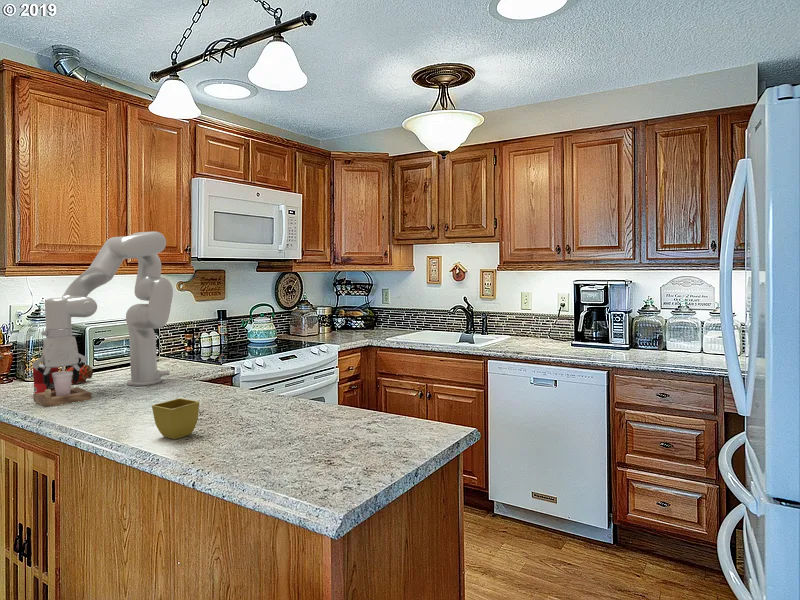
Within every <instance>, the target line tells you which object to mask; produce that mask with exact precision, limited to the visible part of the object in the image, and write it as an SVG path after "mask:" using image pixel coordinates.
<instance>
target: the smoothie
mask: <svg viewBox="0 0 800 600" xmlns="http://www.w3.org/2000/svg"><path fill="white" fill-rule="evenodd" d="M61 368H62V369H61V370H62V371H59V372H55V373H52V377H53V381H54V386H55V391H56V396H62V395H68V394H70V392H71V388H72V384H71V383H72V382H71V381H72V375H73V372H72V371H66V370H65V366H63V367H61Z"/></svg>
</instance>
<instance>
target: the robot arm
mask: <svg viewBox="0 0 800 600" xmlns="http://www.w3.org/2000/svg"><path fill="white" fill-rule="evenodd" d="M166 245H167V240H166V238H165V236H164V234H163V233H162V232H159V231H156V230H155V231H140V232H139V231H138V232H134V233H132V234H130V235H124V236H113V237H110V238H108V239H107V240H106V241H105V242H104V244H103V245H102V247H101V248H100V250H99V251H98V252H97V254H96V256H95V258H94V259H93V261H92V263H91V264H90V265H89V267H88V268H87V269H86V270H85V271H84V272H82V273H81V274H80V275H79V276H77V278H75V279H74V280H73V281H72V282H71V283H70V284H69V285H68V287H67V288H66V290H65V292H63V294H62V296H61V297H51V298H47V299H45V301H44V315H45V329H44V331H41V333H40V335H41V336H45V338H44V340H43V343H42V344H43V346H42V356H40V357H39V358H38V359H37V360H35V361H34V362H32V364H31V365H32V367H33V366H34V367H35V368H36V369H37V370H38V371H39V372H40V373H42V374H43V383H44V384H45V385H46V386H50V375H49V374H48V372H49V371H50V369H51V368H54V367H58V368H62V367H63V366H64V367H69V366H70V367H71V366H72V367H73V368H74V370H73V371H72V372H73V381H74V382H78V379H79V370H80V369H81V367H82V366H83V365H85V363H86V362H87V360H88V357H87V356H85V355H83V354H81V353H79V350H78V349H79V348H78V344H77V340H76V336H75V335H74V336H73V330H72V329H73V328H72V327H73V325H72V318H89V317H91V316H93V315H94V314H95V313H96V312H97V311H98V304H97V302H96V300H94V299H93V298H91V297H89V295H90V294H91V293H92V292H93V291H94V290H95V289H97V288H99V287H102V286H104V285H105V284H107V283H109V282H110V281H112V280H113V278H114V277H115V275H116V273H117V271H118V270H119V268H120V266H121V265H122V264H123V262H124V260H127V259H128V260H129V259H130V260H131V259H137V260H136V261H137V263H138V266H137V274H136V280H135V285H134V291H133V292H134V296H135V297H136V298H137V299H138V300H139V301H140V300H141V301H146V302H148V303H136V304H134V305H131V306H130V307H128V309H127V310H126V314H125V321H126V325H127V326H126V327H127V329H128V337H129V338H128V341H129V359H130V379H129V380H127V381H126V385H127V386H132V387H133V386H135V387H136V386H137V387H141V386H149V385H155V384H159V383H162V376H163V377H164V376H165V377H166V376H169V375H170V374H171V373H170V370H168V369H167V370H159V369H158V363H157V362H158V361H157V359H158V358H157V338H156V337H157V336H156V334H155V330H156V329H158V330H159V329H162V328H163V327H165V325H166V324H167V322H168V321H169V317H170V314H171V307H172V302H173V295H174V289H173V284H172V283H171V282H170V280H169V279H167V278H165V277H162V276H161V275H162V262H161V258H160V256H159V255H158V254H159V253H161V252H163V251H164V250H165V248H166V247H167V246H166ZM154 329H155V330H154ZM79 361H80V362H79ZM39 364H43V365H44V366H45V367H44V369H42V368H41V367H40V366H39Z"/></svg>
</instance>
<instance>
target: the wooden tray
mask: <svg viewBox="0 0 800 600" xmlns="http://www.w3.org/2000/svg"><path fill="white" fill-rule="evenodd" d="M90 399H91V400H92V393H91V392H90V391H88V390H86V389H83V388H81V387H79V386H76V387H71V392H70V394H68V395H62V396H56V391H51V389H46V390H45V392H42V393H35V394H34V393H33V402H35V403H37V404H38V405H40V406H41V407H43V408H49V407H50V406H51V407H56V406H55V405H57V406H62V405H61V404H63V405H67V404H66V403H69V404H73V403H72V402H75V403H79V402H78V401H81V402H85V401H84V400H87V401H91V400H90Z"/></svg>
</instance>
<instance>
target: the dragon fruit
mask: <svg viewBox="0 0 800 600" xmlns="http://www.w3.org/2000/svg"><path fill="white" fill-rule="evenodd" d="M73 370H74V368H73V367H72V366H70V367H69V366H68V367H67V368H66V369H65V371H73ZM93 374H94V369H93V368H92V367H91V366H90V365H87V364H84V365H83V366H82V367H81V369H80V370H79V379H78V382H74V381H73V375H72V381H71V383H74V384H77V383H79V384H81V383H82V382H84V383H86V382H87V379H92V378H93Z"/></svg>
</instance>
